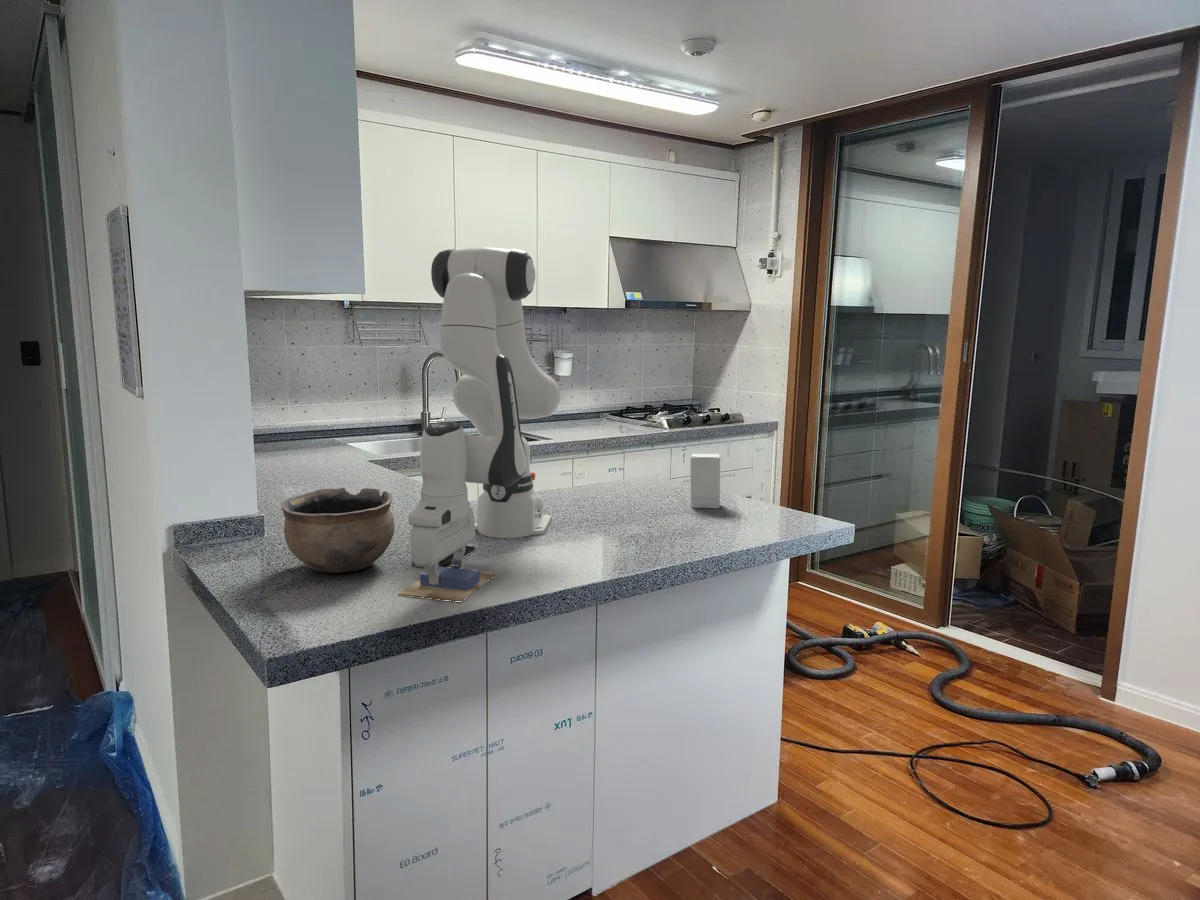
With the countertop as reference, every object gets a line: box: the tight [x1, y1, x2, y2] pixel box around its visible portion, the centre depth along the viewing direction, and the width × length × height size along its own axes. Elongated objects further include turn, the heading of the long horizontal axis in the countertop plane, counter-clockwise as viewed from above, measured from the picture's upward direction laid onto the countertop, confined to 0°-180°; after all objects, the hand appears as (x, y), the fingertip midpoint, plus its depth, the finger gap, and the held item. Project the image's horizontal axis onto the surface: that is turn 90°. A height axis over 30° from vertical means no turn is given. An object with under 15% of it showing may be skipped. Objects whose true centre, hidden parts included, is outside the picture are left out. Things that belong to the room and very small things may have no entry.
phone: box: [411, 545, 476, 567], centre depth 168 cm, size 8×1×15 cm
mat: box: [397, 571, 497, 602], centre depth 150 cm, size 16×13×1 cm
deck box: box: [419, 566, 481, 591], centre depth 150 cm, size 6×2×10 cm
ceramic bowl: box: [280, 487, 395, 573], centre depth 159 cm, size 22×22×15 cm
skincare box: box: [690, 453, 721, 509], centre depth 216 cm, size 8×6×15 cm
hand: (446, 575), depth 150 cm, fingers open, 8 cm apart
